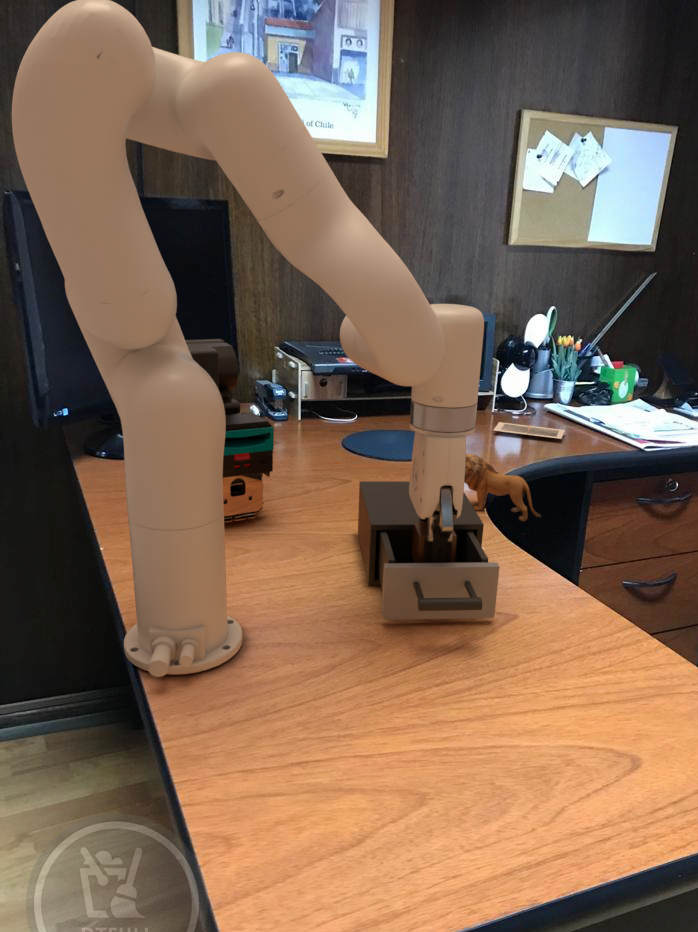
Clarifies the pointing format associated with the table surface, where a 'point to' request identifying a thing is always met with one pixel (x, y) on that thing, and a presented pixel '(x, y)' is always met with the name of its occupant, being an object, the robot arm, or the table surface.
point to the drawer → (435, 580)
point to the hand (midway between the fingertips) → (432, 559)
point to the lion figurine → (496, 485)
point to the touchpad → (529, 430)
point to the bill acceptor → (237, 434)
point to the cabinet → (397, 518)
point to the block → (419, 539)
